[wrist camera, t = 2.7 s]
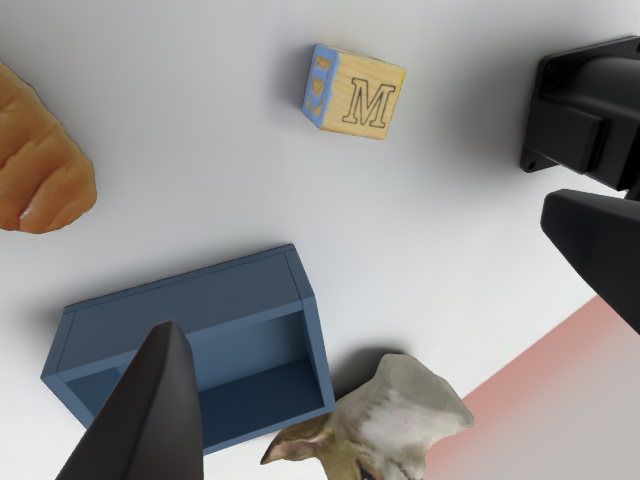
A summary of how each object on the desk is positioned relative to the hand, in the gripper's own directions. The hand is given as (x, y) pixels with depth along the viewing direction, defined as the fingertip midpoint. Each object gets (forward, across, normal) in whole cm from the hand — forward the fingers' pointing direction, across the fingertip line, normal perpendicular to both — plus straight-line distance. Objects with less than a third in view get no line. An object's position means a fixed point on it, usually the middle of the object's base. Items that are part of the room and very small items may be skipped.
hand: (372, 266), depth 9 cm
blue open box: (+12, +7, +12) cm, 18 cm away
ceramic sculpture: (+12, -1, +24) cm, 27 cm away
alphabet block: (+12, -3, -1) cm, 12 cm away
